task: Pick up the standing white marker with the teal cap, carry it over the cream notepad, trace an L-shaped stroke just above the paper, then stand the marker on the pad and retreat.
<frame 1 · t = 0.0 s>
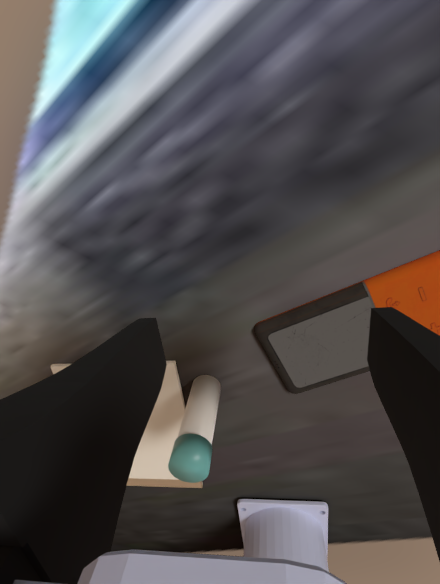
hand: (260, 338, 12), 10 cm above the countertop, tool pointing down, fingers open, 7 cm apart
notepad: (133, 428, 29), on the countertop
phone: (375, 316, 23), on the countertop
marker: (206, 386, 26), on the countertop
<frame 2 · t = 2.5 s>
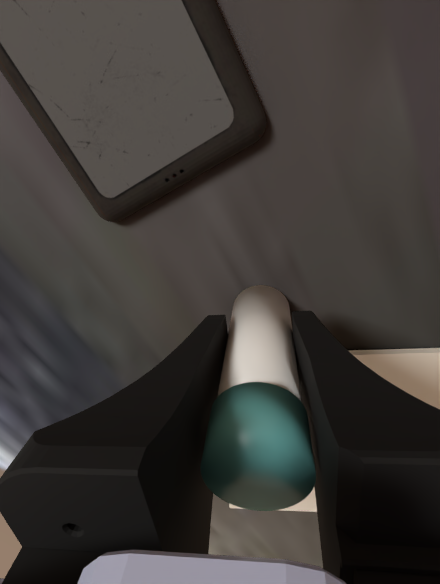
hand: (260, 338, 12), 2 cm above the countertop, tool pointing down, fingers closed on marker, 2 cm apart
notepad: (370, 439, 16), on the countertop
marker: (260, 310, 13), on the countertop, touching gripper
when the fingers open (3 cm above the countertop, at t = 7.4 s): marker stays where it is, resting on notepad.
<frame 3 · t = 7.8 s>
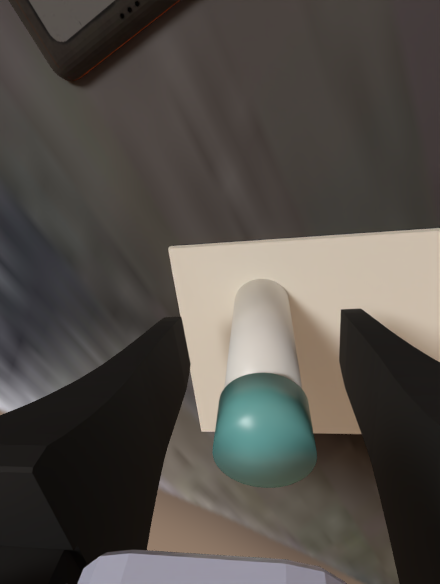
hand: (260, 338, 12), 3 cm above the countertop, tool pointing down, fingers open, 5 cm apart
notepad: (345, 345, 15), on the countertop
marker: (261, 302, 14), resting on notepad
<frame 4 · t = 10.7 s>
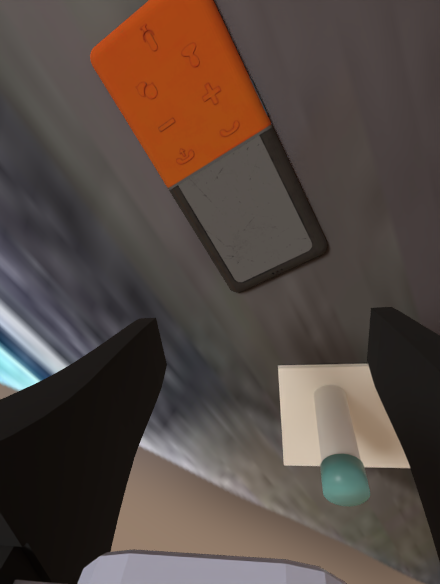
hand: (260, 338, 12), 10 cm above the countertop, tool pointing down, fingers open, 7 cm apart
notepad: (377, 417, 25), on the countertop
phone: (220, 158, 19), on the countertop
marker: (329, 396, 25), resting on notepad
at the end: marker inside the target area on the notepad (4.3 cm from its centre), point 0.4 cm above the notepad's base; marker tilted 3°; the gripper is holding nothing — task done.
